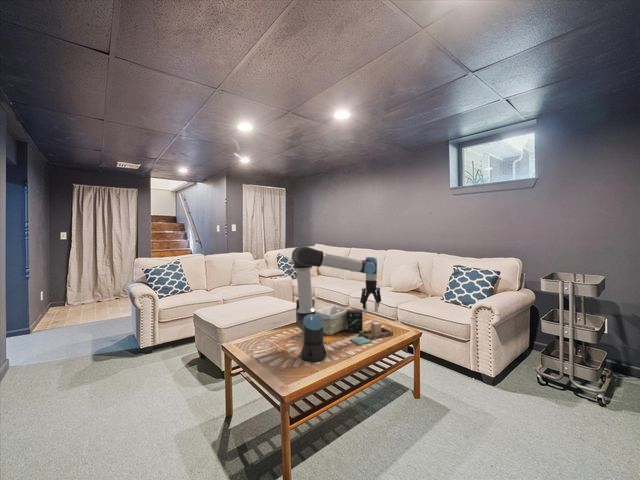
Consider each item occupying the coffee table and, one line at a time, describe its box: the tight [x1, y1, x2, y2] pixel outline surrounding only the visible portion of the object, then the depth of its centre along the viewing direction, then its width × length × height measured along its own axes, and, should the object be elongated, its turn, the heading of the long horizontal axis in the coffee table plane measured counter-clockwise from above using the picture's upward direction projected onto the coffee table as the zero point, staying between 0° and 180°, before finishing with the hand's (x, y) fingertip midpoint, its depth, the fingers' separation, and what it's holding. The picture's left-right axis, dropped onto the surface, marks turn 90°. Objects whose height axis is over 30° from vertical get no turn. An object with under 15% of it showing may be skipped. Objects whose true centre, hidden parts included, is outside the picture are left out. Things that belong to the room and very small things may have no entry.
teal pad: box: [350, 336, 373, 346], centre depth 191 cm, size 10×10×1 cm
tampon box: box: [346, 308, 364, 334], centre depth 213 cm, size 11×9×15 cm
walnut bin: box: [358, 327, 394, 341], centre depth 203 cm, size 21×11×2 cm, turn 117°
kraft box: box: [370, 321, 382, 335], centre depth 203 cm, size 5×5×8 cm
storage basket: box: [315, 304, 348, 336], centre depth 215 cm, size 24×16×15 cm
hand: (370, 312), depth 199 cm, fingers open, 9 cm apart
